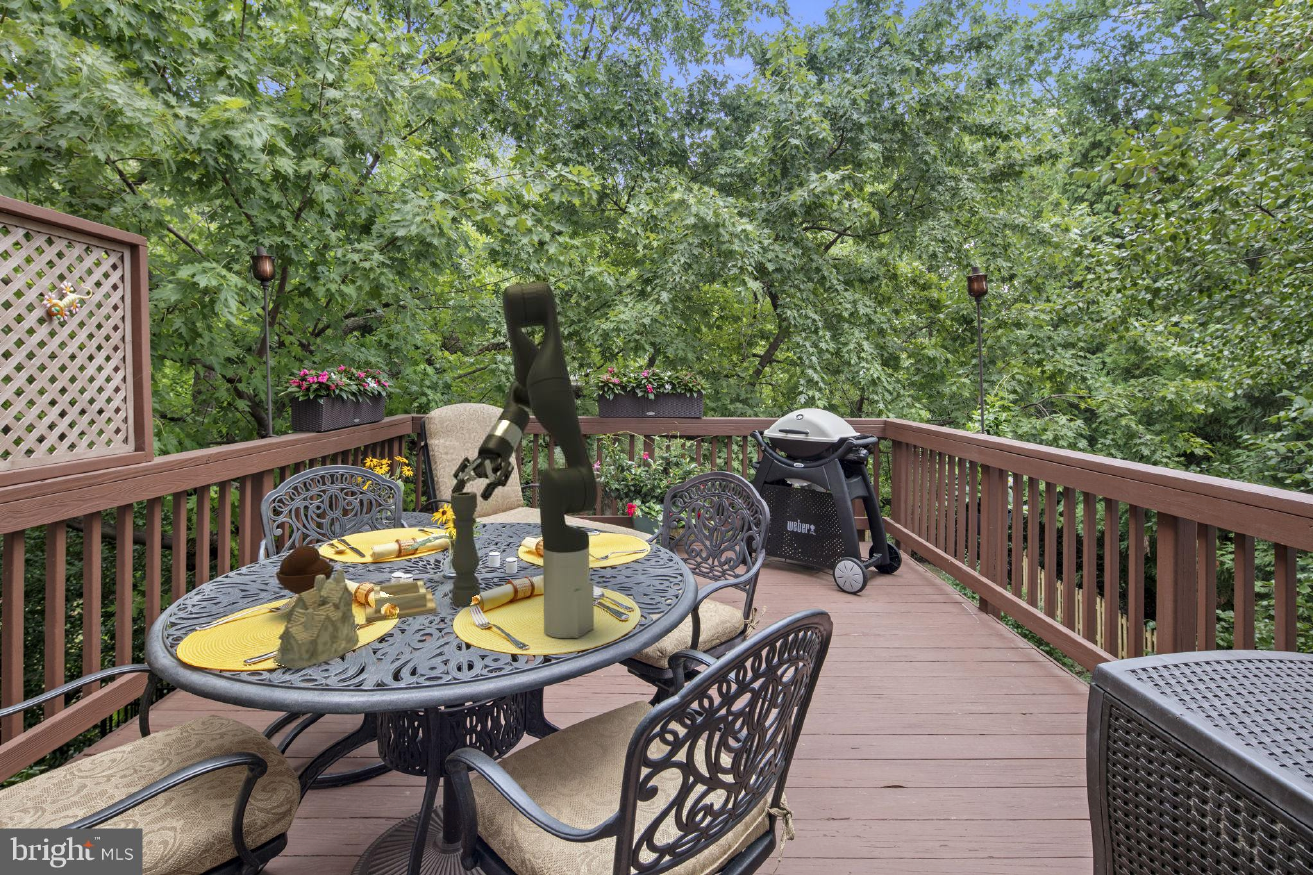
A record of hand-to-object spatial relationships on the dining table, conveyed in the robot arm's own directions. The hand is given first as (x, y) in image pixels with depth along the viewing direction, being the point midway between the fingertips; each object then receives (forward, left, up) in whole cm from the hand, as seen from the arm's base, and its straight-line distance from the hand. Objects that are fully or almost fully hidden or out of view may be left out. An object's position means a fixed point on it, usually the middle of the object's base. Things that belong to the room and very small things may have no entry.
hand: (468, 497), depth 146 cm
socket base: (+11, +11, -24) cm, 28 cm away
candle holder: (0, +2, -24) cm, 24 cm away
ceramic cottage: (+9, +34, -24) cm, 43 cm away
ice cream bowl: (+27, +22, -24) cm, 42 cm away
